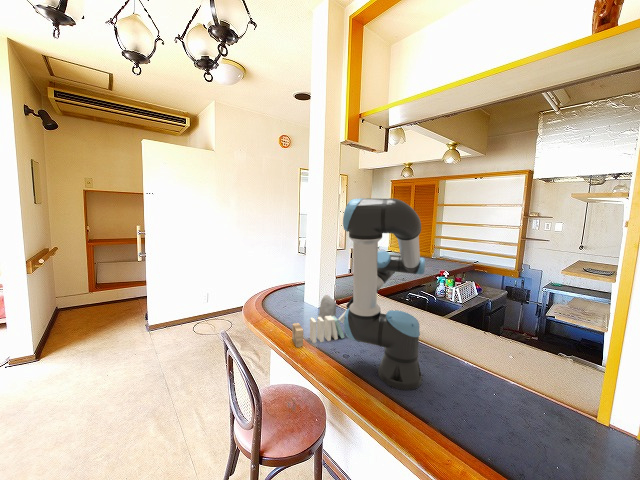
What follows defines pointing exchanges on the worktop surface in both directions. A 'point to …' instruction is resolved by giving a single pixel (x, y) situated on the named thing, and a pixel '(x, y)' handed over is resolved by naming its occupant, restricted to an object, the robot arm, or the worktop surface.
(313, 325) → the domino
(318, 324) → the domino
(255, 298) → the worktop surface
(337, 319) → the domino
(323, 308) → the decorative stone
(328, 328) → the domino
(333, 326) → the domino
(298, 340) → the end block
